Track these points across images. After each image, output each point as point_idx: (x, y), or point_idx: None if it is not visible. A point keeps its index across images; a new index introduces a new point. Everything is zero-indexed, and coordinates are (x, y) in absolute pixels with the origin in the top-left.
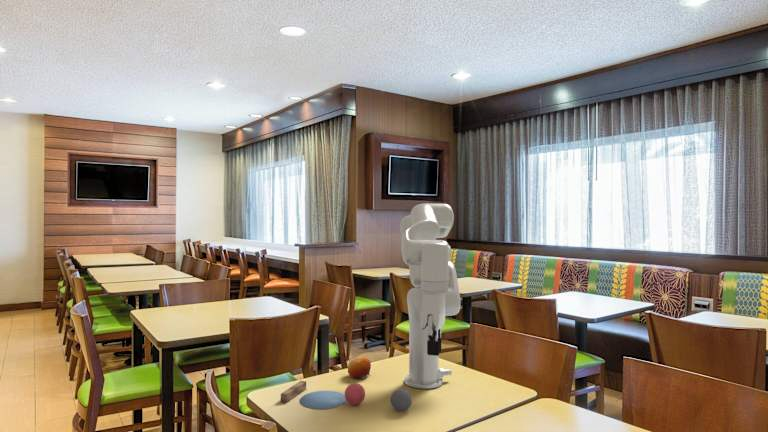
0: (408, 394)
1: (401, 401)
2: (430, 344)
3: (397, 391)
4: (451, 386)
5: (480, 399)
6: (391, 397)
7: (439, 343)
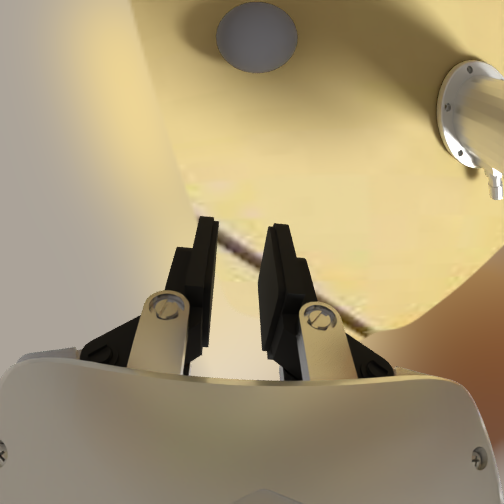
0: (250, 63)
1: (217, 44)
2: (166, 288)
3: (244, 22)
4: (451, 185)
5: (369, 251)
6: (238, 6)
7: (261, 325)
